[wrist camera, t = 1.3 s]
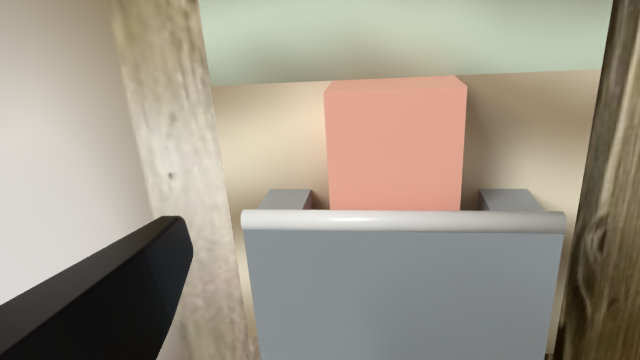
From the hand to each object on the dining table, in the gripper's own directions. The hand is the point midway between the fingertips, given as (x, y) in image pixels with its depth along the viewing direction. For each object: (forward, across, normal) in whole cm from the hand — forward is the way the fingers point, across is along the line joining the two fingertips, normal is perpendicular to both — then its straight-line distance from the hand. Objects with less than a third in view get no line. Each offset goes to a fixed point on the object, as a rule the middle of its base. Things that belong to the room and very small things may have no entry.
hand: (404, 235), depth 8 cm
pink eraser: (+10, 0, +5) cm, 11 cm away
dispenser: (+9, 0, +9) cm, 13 cm away
